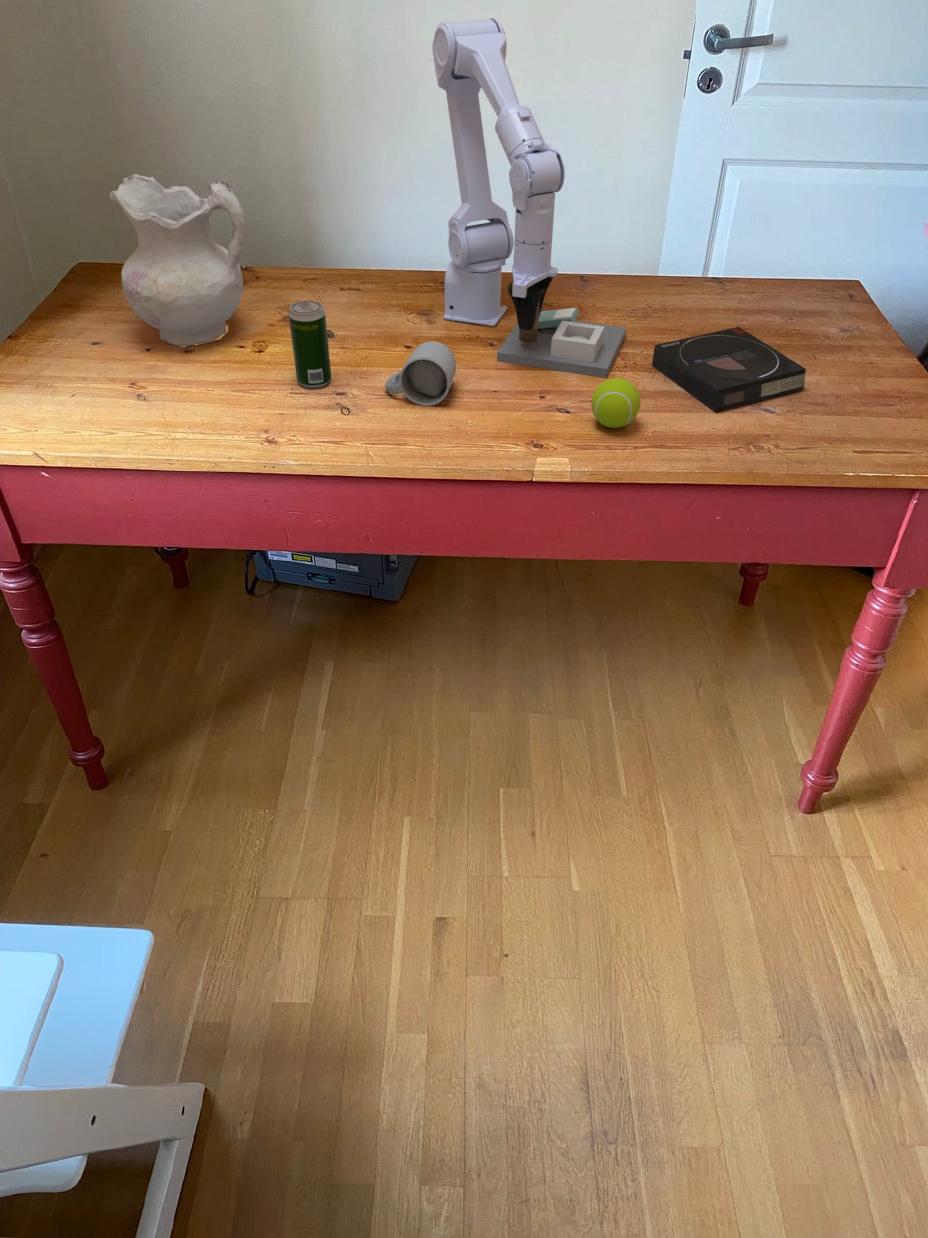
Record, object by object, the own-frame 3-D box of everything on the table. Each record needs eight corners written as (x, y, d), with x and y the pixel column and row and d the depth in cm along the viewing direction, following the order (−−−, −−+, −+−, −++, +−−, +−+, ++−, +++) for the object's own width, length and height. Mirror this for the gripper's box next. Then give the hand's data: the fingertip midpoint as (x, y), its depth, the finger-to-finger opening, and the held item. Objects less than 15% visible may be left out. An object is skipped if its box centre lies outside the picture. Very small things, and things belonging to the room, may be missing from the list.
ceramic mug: (458, 382, 146) (457, 336, 141) (450, 408, 140) (448, 360, 135) (392, 378, 148) (388, 332, 143) (380, 403, 142) (377, 356, 137)
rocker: (526, 329, 157) (524, 322, 156) (533, 319, 160) (531, 311, 159) (572, 325, 154) (570, 317, 153) (578, 314, 157) (577, 306, 156)
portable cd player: (715, 416, 140) (720, 391, 137) (651, 368, 151) (654, 344, 149) (802, 394, 145) (808, 370, 142) (733, 349, 157) (738, 326, 154)
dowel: (517, 341, 151) (519, 299, 147) (520, 333, 154) (522, 291, 149) (535, 343, 151) (538, 301, 146) (538, 335, 153) (541, 293, 148)
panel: (496, 360, 152) (497, 334, 149) (523, 321, 163) (524, 296, 160) (605, 377, 148) (609, 350, 145) (625, 335, 159) (628, 310, 156)
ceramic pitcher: (272, 315, 167) (252, 163, 152) (255, 356, 152) (232, 191, 137) (150, 317, 167) (118, 164, 152) (121, 358, 151) (83, 193, 136)
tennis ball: (633, 439, 134) (640, 395, 129) (585, 432, 135) (589, 388, 130) (640, 416, 139) (646, 372, 134) (593, 409, 140) (598, 366, 136)
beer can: (336, 385, 145) (329, 310, 138) (303, 392, 144) (294, 317, 136) (325, 370, 149) (317, 297, 141) (292, 377, 147) (283, 303, 139)
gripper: (547, 258, 135) (541, 346, 144) (570, 225, 146) (563, 309, 155) (500, 252, 137) (497, 340, 146) (526, 220, 147) (522, 304, 156)
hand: (528, 324), depth 151 cm, fingers closed on dowel, 3 cm apart
